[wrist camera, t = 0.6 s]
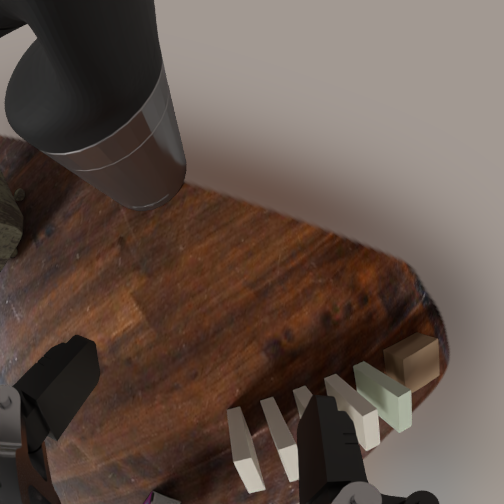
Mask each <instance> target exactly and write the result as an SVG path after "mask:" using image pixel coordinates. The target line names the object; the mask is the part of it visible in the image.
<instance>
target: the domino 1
mask: <svg viewBox="0 0 504 504" xmlns="http://www.w3.org/2000/svg"><path fill="white" fill-rule="evenodd" d="M227 416H228V425H229V433H230V441H231V449H232V456H233V462H234V464H235V467H236V469H237V471H238V473H239V475H240V477H241V479H242V480H243V482H244V484H245V486H246V488H247V490H248V492H249V493H253V492H257V491H261V490H265V486H264V482H263V478H262V475H261V471H260V467H259V464H258V460H257V456H256V452H255V448H254V444H253V440H252V437H251V434H250V432H249V429H248V426H247V424H246V421H245V418H244V416H243V413H242V410H241V408H240V407H236V408H232V409H228V410H227Z"/></svg>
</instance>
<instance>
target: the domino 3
mask: <svg viewBox="0 0 504 504" xmlns="http://www.w3.org/2000/svg"><path fill="white" fill-rule="evenodd" d="M293 393H294V397H295V401H296V404H297V408H298V412H299V415H300V419H301V417H302V415H303V413H304V411H305V409H306V407H307V405H308V403H309V400H310V398H311V397H312V393H311V392H310V391H309V390H308V388H307V387H306V386H303V387H300V388H297V389H294V390H293Z"/></svg>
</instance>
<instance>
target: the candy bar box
mask: <svg viewBox="0 0 504 504" xmlns="http://www.w3.org/2000/svg"><path fill="white" fill-rule="evenodd" d="M143 504H181V501H179V500H176V499H174V498H170V497H168V496H165V495H162V494H160V493H157V492H155V491H152V492H151V494H150V495H149V496H148V498H147V499H146V500H145V502H144V503H143Z"/></svg>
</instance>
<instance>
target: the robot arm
mask: <svg viewBox="0 0 504 504" xmlns="http://www.w3.org/2000/svg"><path fill="white" fill-rule="evenodd" d="M26 24H28V25H29V26H30V27H31V29H32V30H33V32H34V33H35V35H36V36H37V39H36V40H35V41H34V43H32V45H31V46H30V47H29V48H28V49H27V51H26V52H25V53H24V55H23V56H22V58H21V59H20V61H19V62H18V64H17V66H16V68H15V69H14V71H13V74H12V76H11V78H10V81H9V83H8V86H7V91H6V96H5V112H6V117H7V119H8V122H9V124H10V125H11V127H12V128H13V130H14V131H15V132H16V133H17V134H18V135H19V136H20V137H22V138H23V139H24V140H26V141H27V142H28V143H30V144H31V145H33V146H34V147H36V148H37V149H39V150H40V151H42V152H43V153H44V154H46V155H47V156H49V157H50V158H52V159H53V160H55V161H56V162H58V163H59V164H61V165H62V166H64V167H65V168H67V169H68V170H70V171H71V172H73V173H74V174H76V175H77V176H79V177H80V178H82V179H83V180H85V181H86V182H88V183H89V184H91V185H92V186H94V187H95V188H97V189H98V190H100V191H101V192H103V193H104V194H106V195H107V196H109V197H110V198H112V199H113V200H115V201H117V202H118V203H120V204H121V205H123V206H125V207H127V208H129V209H133V210H136V211H146V210H152V209H155V208H157V207H160V206H162V205H164V204H165V203H167V202H168V201H170V200H171V199H172V198H173V197H174V196H175V195H176V193H177V192H178V191H179V189H180V188H181V186H182V184H183V181H184V179H185V174H186V159H185V155H184V151H183V146H182V142H181V138H180V133H179V129H178V125H177V121H176V117H175V112H174V108H173V104H172V99H171V95H170V90H169V86H168V82H167V78H166V73H165V69H164V64H163V59H162V54H161V50H160V45H159V40H158V32H157V24H156V14H155V5H154V0H0V38H1V37H3V36H4V35H6V34H8V33H10V32H12V31H14V30H16V29H18V28H19V27H22V26H23V25H26ZM99 377H100V369H99V363H98V357H97V350H96V344H95V342H94V341H92V340H89V339H87V338H84V337H82V336H79V335H75V336H73V337H72V338H71V339H70V340H69V341H68V342H67V343H61V344H58V345H56V346H54V347H52V348H51V349H50V350H49V351H48V352H47V353H46V354H45V355H44V357H42V358H41V359H40V360H38V363H35V364H34V365H33V366H32V367H31V368H30V369H29V370H28V371H27V372H26V373H25V374H24V375H23V376H22V377H21V379H20V380H19V381H18V382H17V383H16V384H15V385H13V386H12V387H11V386H9V385H0V504H61V502H60V500H59V497H58V495H57V493H56V492H55V490H54V487H53V484H52V480H51V476H50V471H49V465H48V460H47V453H46V447H45V442H44V440H45V438H46V437H47V436H49V437H50V438H52V439H54V440H55V441H58V439H59V438H60V436H61V435H62V433H63V432H64V430H65V429H66V428H67V426H68V425H69V423H70V422H71V420H72V419H73V417H74V416H75V414H76V413H77V412H78V410H79V409H80V407H81V406H82V405H83V403H84V402H85V400H86V399H87V397H88V396H89V395H90V393H91V392H92V391H93V389H94V388H95V386H96V385H97V383H98V380H99ZM358 443H359V442H358V438H357V436H356V430H355V426H354V422H353V420H352V419H351V418H350V416H349V415H348V414H347V412H346V411H338V408H337V403H336V399H335V397H333V396H322V395H312V397H311V398H310V400H309V403H308V405H307V407H306V409H305V411H304V413H303V415H302V417H301V419H300V421H299V424H298V429H297V447H298V469H299V498H300V504H439V501H438V499H437V498H436V497H435V495H433V494H432V493H430V492H428V491H417V492H414V493H412V494H411V495H410V496H408V497H407V498H404V497H395V496H388V495H383V494H381V493H380V492H379V491H378V489H377V488H376V487H374V486H373V485H371V484H369V483H368V481H367V477H366V473H365V468H364V464H363V459H362V455H361V451H360V446H359V445H358Z"/></svg>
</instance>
